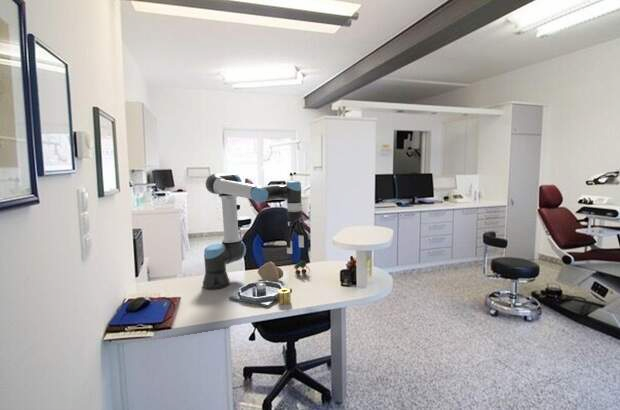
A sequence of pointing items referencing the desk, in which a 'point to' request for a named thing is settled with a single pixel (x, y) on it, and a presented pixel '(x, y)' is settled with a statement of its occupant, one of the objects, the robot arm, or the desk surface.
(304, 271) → the binoculars
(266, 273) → the brown rounded piece
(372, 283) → the desk surface
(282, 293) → the planet gear
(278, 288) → the tray
